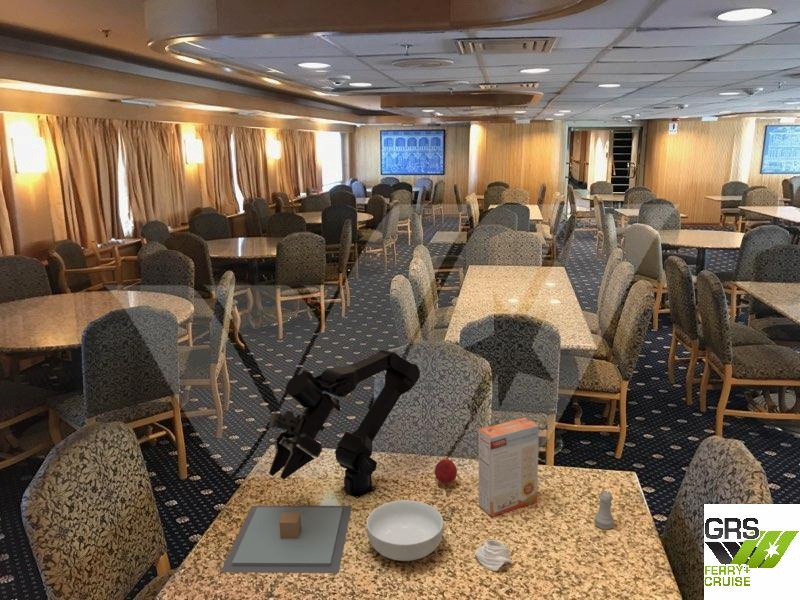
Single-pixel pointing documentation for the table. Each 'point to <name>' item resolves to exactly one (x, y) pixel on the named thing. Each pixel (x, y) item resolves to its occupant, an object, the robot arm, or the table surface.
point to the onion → (445, 471)
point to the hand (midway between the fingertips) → (276, 476)
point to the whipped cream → (493, 554)
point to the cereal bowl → (405, 529)
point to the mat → (289, 569)
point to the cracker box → (508, 465)
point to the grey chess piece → (604, 511)
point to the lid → (290, 537)
